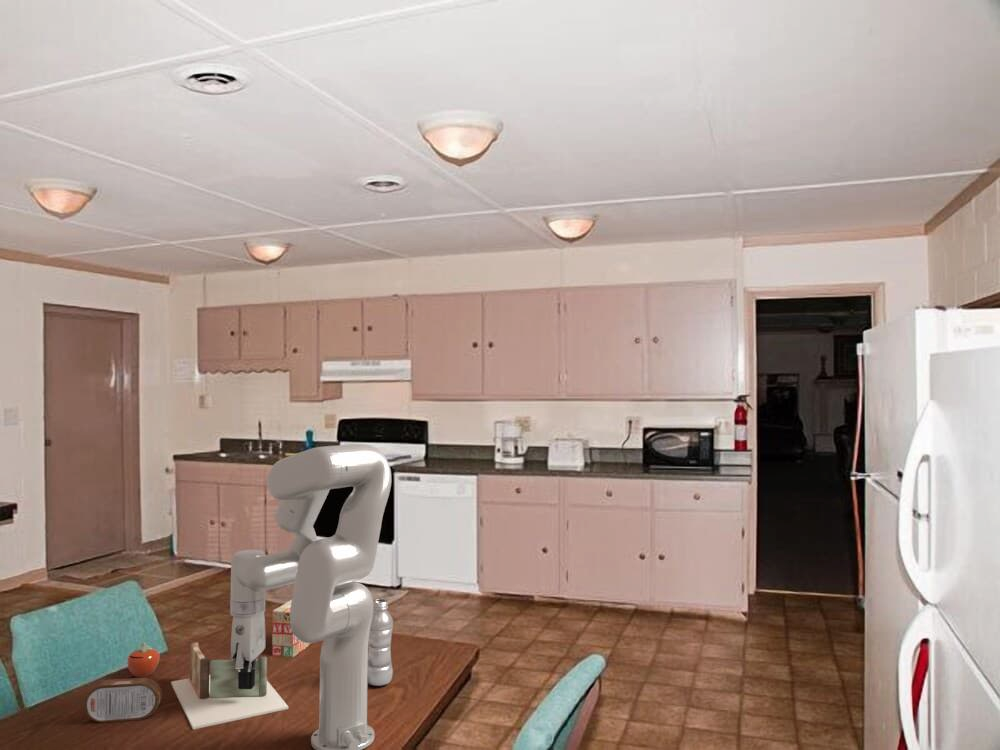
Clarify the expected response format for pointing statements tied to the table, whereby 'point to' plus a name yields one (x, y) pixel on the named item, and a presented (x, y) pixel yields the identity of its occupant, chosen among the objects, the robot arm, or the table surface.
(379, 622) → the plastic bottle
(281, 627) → the stack of blocks
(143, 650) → the tomato
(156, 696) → the tin
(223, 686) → the swing panel
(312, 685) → the table surface
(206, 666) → the fixed fence
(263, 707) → the card
